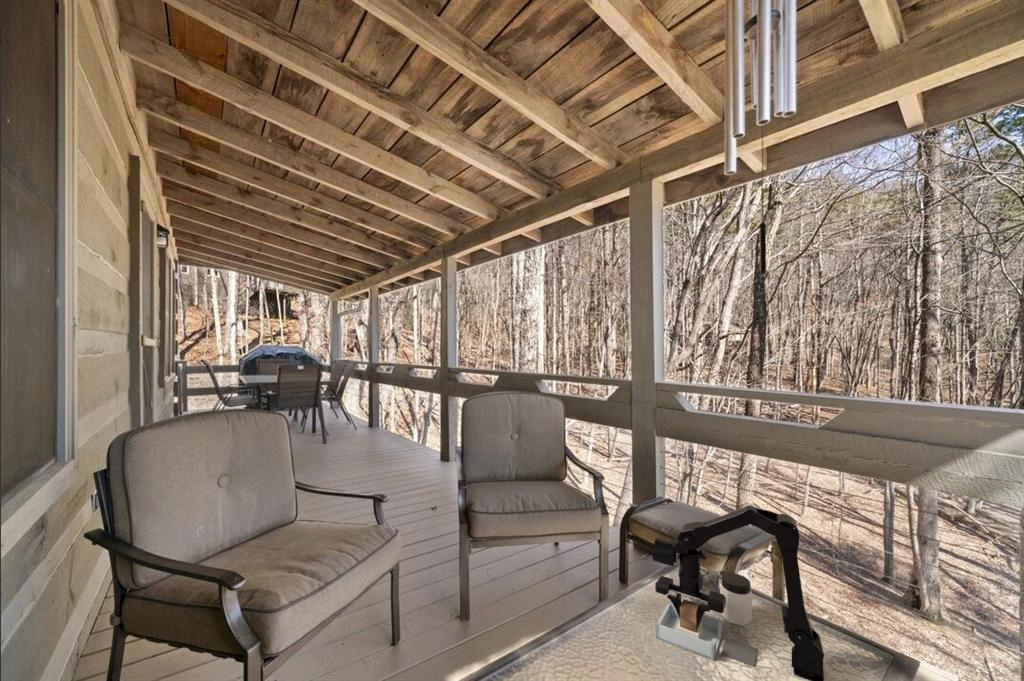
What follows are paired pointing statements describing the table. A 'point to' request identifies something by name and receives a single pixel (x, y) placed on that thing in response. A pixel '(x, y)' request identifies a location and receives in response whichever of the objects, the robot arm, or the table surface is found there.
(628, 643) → the table surface
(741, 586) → the jar
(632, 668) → the table surface
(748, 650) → the rubber mat
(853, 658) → the table surface
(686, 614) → the walnut block
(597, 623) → the table surface
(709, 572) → the mineral rock
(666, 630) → the access box
